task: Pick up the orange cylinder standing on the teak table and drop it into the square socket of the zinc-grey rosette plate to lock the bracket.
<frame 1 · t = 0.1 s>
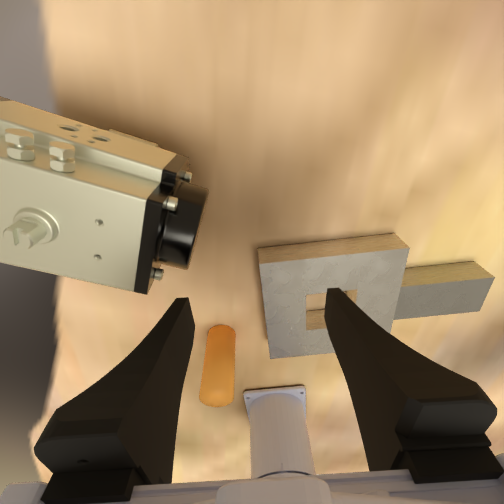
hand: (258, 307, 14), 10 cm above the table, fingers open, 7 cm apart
orange cylinder: (221, 334, 30), on the table
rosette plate: (323, 293, 27), on the table
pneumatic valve: (135, 153, 20), on the table
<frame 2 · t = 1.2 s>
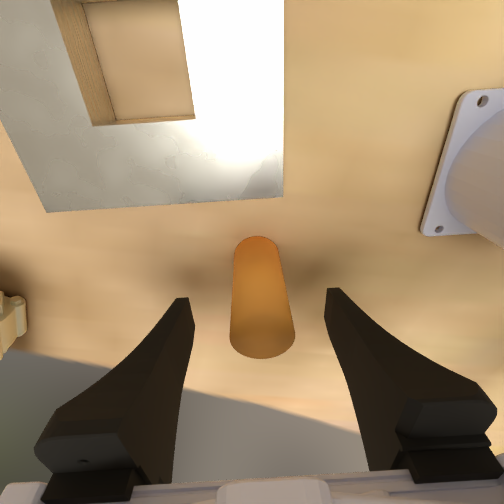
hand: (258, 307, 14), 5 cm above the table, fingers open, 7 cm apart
orange cylinder: (256, 255, 18), on the table
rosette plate: (148, 63, 13), on the table
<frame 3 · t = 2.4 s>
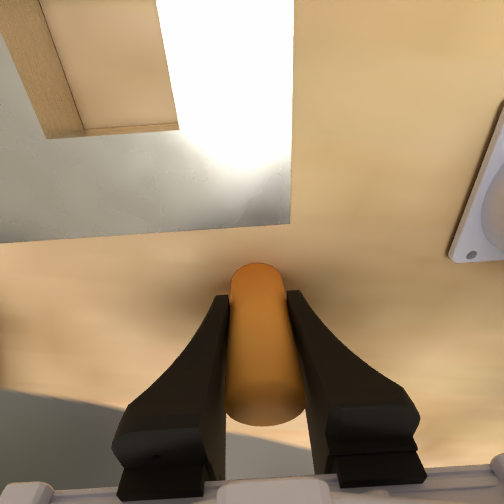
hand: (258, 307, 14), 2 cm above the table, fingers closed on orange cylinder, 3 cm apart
orange cylinder: (256, 284, 16), on the table, touching gripper
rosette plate: (120, 59, 10), on the table
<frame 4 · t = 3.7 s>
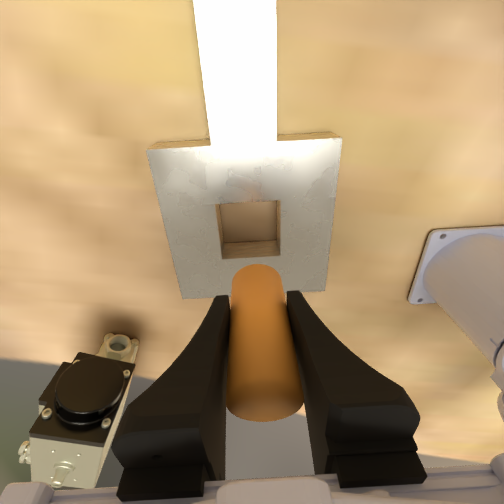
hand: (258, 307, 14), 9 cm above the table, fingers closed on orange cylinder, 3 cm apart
orange cylinder: (256, 284, 16), point 7 cm above the table, touching gripper
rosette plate: (248, 217, 22), on the table
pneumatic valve: (118, 343, 29), on the table
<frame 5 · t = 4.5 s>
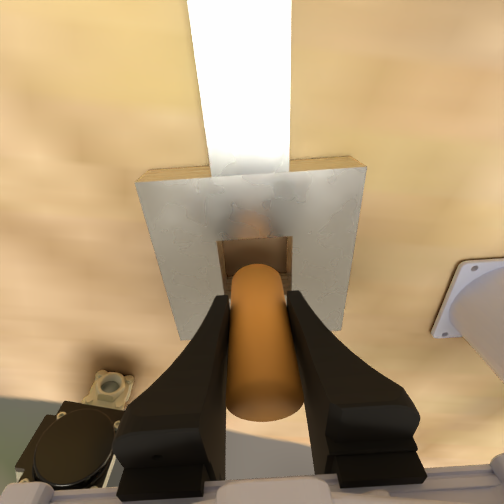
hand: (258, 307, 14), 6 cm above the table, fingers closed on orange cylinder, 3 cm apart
orange cylinder: (256, 284, 16), point 4 cm above the table, touching gripper
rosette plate: (255, 249, 19), on the table
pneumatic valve: (111, 379, 27), on the table
when the fingers open (3 cm above the table, at t = 5.3 s): orange cylinder drops 1 cm, resting in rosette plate.
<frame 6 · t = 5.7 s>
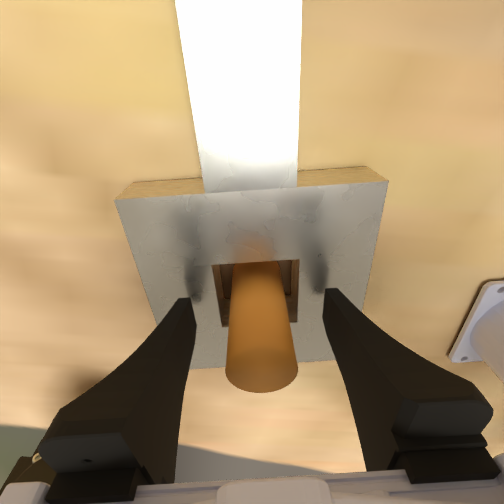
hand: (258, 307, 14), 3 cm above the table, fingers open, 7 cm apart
orange cylinder: (256, 272, 17), resting in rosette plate
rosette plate: (255, 269, 17), on the table
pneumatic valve: (99, 404, 25), on the table
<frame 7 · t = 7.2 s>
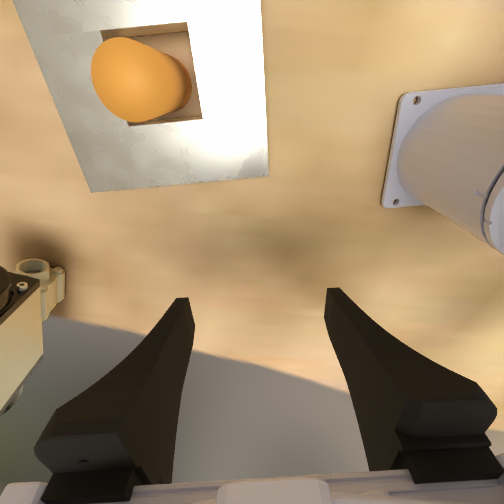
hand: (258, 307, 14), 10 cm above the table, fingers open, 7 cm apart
orange cylinder: (167, 84, 17), resting in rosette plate
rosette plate: (166, 79, 17), on the table
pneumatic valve: (43, 275, 25), on the table
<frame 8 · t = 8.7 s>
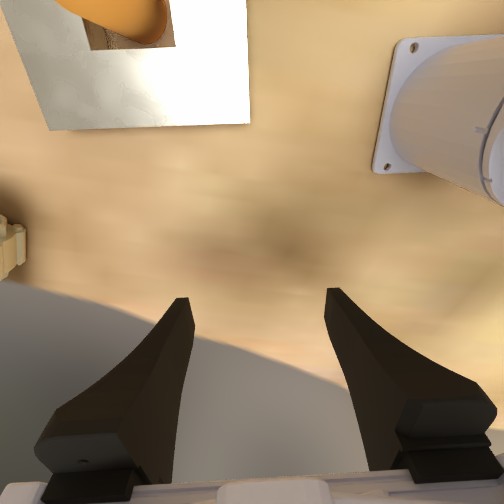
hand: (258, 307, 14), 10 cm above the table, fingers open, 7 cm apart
orange cylinder: (140, 10, 15), resting in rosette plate
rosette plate: (138, 4, 15), on the table
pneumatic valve: (1, 234, 23), on the table
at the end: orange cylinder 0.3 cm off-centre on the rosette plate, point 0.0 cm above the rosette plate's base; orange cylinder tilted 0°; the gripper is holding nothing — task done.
